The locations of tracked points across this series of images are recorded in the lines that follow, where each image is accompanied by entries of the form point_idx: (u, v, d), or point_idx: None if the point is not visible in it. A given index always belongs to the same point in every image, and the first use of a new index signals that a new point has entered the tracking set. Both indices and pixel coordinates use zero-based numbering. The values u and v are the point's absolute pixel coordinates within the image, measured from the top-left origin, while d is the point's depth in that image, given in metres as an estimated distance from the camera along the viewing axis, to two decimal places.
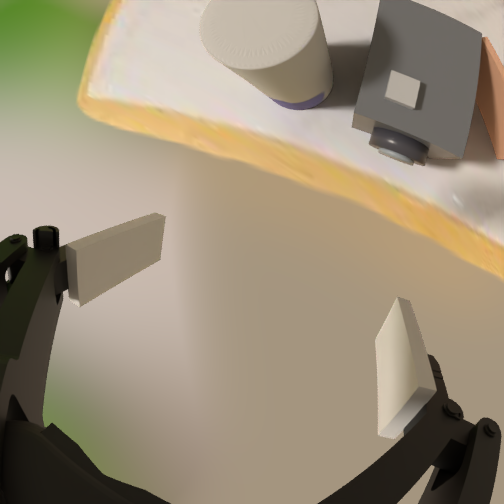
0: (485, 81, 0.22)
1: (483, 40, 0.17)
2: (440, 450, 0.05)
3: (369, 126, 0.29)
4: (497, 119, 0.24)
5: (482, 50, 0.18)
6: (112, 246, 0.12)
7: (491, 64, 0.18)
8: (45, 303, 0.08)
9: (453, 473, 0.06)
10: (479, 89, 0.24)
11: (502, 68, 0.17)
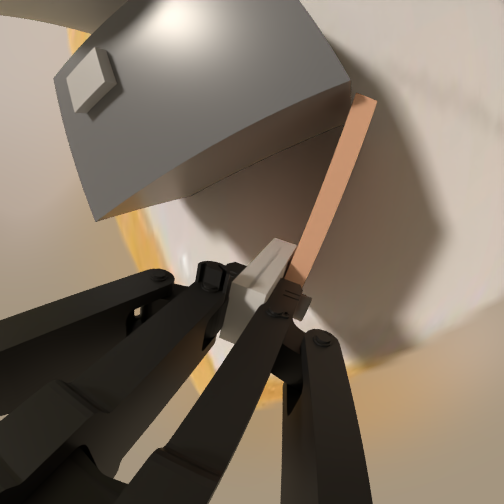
0: None
1: (354, 100, 0.11)
2: (278, 348, 0.08)
3: None
4: None
5: None
6: None
7: None
8: (183, 352, 0.08)
9: None
10: None
11: (340, 181, 0.12)
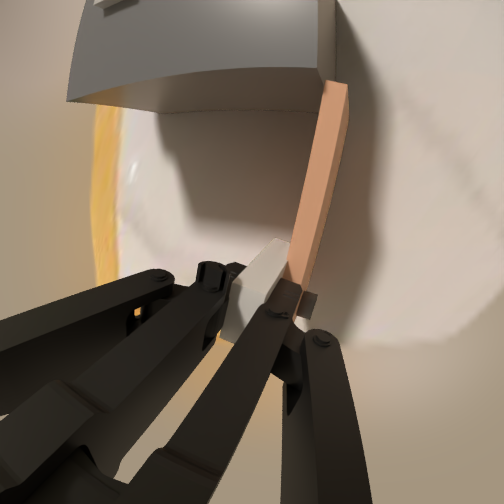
0: None
1: (325, 87, 0.11)
2: (278, 347, 0.08)
3: None
4: None
5: None
6: None
7: None
8: (183, 352, 0.08)
9: None
10: None
11: (323, 169, 0.12)
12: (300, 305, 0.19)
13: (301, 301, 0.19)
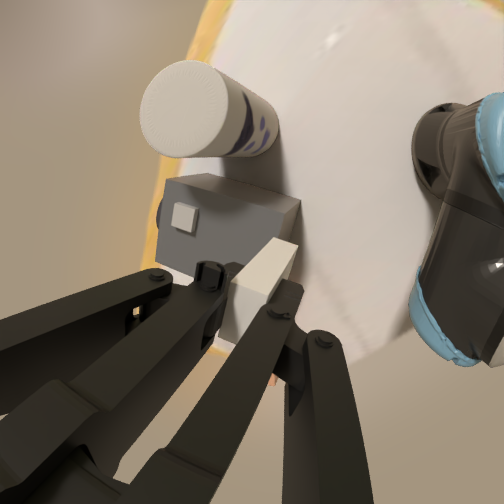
0: None
1: None
2: (280, 348, 0.08)
3: None
4: None
5: None
6: None
7: None
8: (182, 351, 0.08)
9: None
10: None
11: None
12: None
13: None
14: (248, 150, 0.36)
